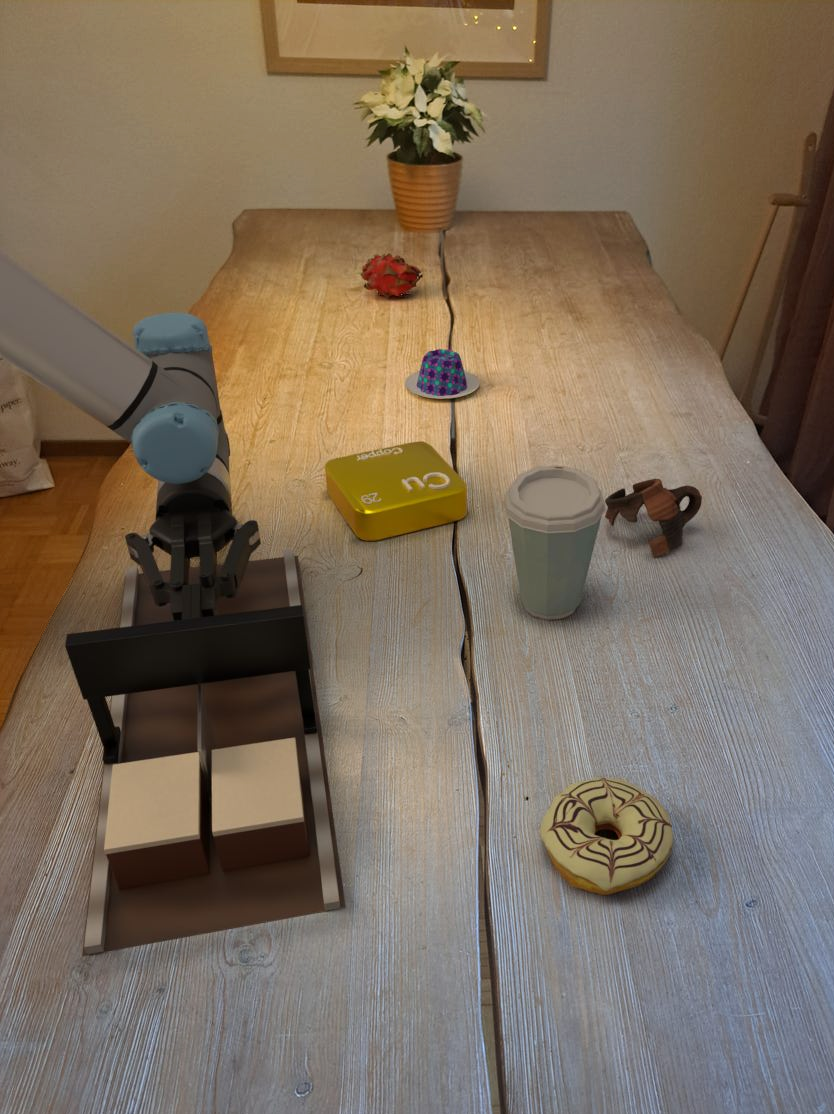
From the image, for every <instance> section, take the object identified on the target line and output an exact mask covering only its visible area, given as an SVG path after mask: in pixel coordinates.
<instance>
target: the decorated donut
mask: <svg viewBox="0 0 834 1114" xmlns="http://www.w3.org/2000/svg"><path fill="white" fill-rule="evenodd" d="M602 830H603V831H609V830H610V831H613V832H614V833H615V834H616V835H617V838H618V839H609V838H606V837H602V836H600V835H596V833H598V832H599V831H602ZM539 835H540V839H541V841H542V842H543V844H544V845H545V848H546V852H547V854H548V856H549V858H550V861H551V863H552V865H553V866H554V868H555V870H556V871H557V873H558V875H560V876H561V878H562V880H564V881H566V882H567V883H568V884H569V885H570V886H571V887H572V888H575V889H582V890H584V891H586V892H590V893H595V894H598V895H600V896H601V895H602V896H607V895H611V894H615V893H619V892H624V891H626V890H628V889H632V888H635V887H638V886H640V885H642V884H644V883H646V882H648V881H649V880H651V879H652V878H654V876H655V875H656V874H657V873H658V872H659V871H660V870H661V869H662V867H663V866H664V865H665V864H666V862H667V860H668V859H669V857H670V856H671V851H672V848H673V843H674V833H673V823H672V820H671V818H670V814H669V813H668V812H667V809H666V808H665V807H664V806H663V805H662V804H661V803H660V802H659V800H658V799H657V798H655V797H654V796H653V795H651V794H650V793H648V792H646V791H645V790H643V789H641V788H640V787H638V786H637V785H635V784H633V783H631V782H629V781H627V780H624V779H620V778H618V777H617V778H614V777H610V778H607V777H596V778H590V779H587V780H581V781H576V782H573V783H571V784H569V785H567V786H566V787H565V789H564V790H563V792H561V793H560V794H557V795H555V797H553V800H552V802H551V804H550V808H549V809H548V810H547V811H546V814H545V815H544V816H543V818H542V821H541V824H540V828H539Z"/></svg>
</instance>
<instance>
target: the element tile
mask: <svg viewBox="0 0 834 1114" xmlns="http://www.w3.org/2000/svg"><path fill="white" fill-rule="evenodd" d="M324 473H325V484H326V492H327V495H328V496H329V498H330V499H331V501H332V502H333V504H334V505H335V507H336V508H337V510H338V511H339V512H340V514H341V516H342V518H343V519H344V520H345V522H346V523H347V524H348V525H349V527H350V528H351V530H352V532H353V533H354V534H355V536H356V537H357V538H358V539H361V540H362V541H365V542H372V541H373V542H376V541H380V540H385V539H388V538H393V537H397V536H401V535H405V534H409V533H414V532H418V531H421V530H422V531H423V530H425V529H429V528H433V527H434V528H435V527H437V526H441V525H447V524H450V523H453V522H457V521H460V520H462V519H464V518H465V517H466V516H467V513H468V485H467V483H466V482H465V481H464V479H462V477H461V476H460V475H459V474H458V473H457V472H456V470H454V469H453V467H451V465H450V464H449V463H448V462H447V460H445V459H444V457H442V456H441V454H440V453H439V452H438V451H437V450H436V449H435V448H434V446H433V445H431V444H429V443H427V442H426V441H420V440H419V441H412V442H411V441H410V442H407V443H402V444H397V445H392V446H389V447H382V448H377V449H373V450H368V451H364V452H359V453H354V454H349V455H345V456H339V457H334V458H333V459H330V460H328V461H326V463H324Z"/></svg>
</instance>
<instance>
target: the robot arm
mask: <svg viewBox="0 0 834 1114" xmlns="http://www.w3.org/2000/svg"><path fill="white" fill-rule="evenodd" d="M132 336H133V337H132V338H133V343H134V346H133V345H132V344H130V343H129V342H128V341H126V340H125V339H124V338H122V337H121V336H119V335H118V334H116V333H115V332H114V331H112V330H111V329H110V328H108V327H107V326H106V325H104V323H102V322H100V321H99V320H98V319H96V318H95V317H93V315H91V314H89V313H88V312H86V311H85V310H83V308H82V307H79V306H78V305H76V303H74V302H73V301H71V300H70V299H69V298H67V297H66V296H65V295H63V294H61V293H60V292H59V291H57V290H56V289H55V288H53V287H52V286H51V285H49V284H48V283H47V282H45V281H44V280H43V279H41V278H40V277H38V276H37V275H35V274H34V273H33V272H31V271H30V270H29V269H27V268H26V267H25V266H23V265H22V264H20V263H19V262H18V261H16V260H15V259H13V258H12V257H11V256H9V255H8V254H7V253H5V252H4V251H2V250H1V249H0V358H1V359H3V360H4V361H6V362H7V363H9V364H10V365H12V366H13V367H15V368H16V369H18V370H19V371H21V372H22V373H24V374H26V375H27V376H28V377H30V378H31V379H32V380H33V379H34V381H36V382H38V383H39V384H41V385H43V387H45V388H47V389H48V390H50V391H52V392H53V393H54V394H56V395H58V396H59V397H60V398H63V399H64V400H65V401H66V402H69V403H70V404H71V405H73V406H74V407H76V408H77V409H79V410H80V411H82V412H83V413H85V414H86V415H87V416H89V417H91V418H92V419H94V420H96V422H98V423H100V424H102V425H103V426H105V427H107V428H108V429H110V430H111V431H112V432H114V433H115V434H116V435H117V436H119V437H121V438H122V439H123V440H126V442H128V443H130V445H131V447H132V451H133V455H134V457H135V459H136V461H137V463H138V465H139V467H141V469H142V470H143V471H144V472H145V473H146V474H147V475H148V476H150V477H151V478H153V479H155V480H157V489H156V503H155V504H156V506H155V521H154V522H153V523H152V524H151V525H150V526H149V529H148V530H149V532H148V533H145V534H143V535H140V534H138V533H136V532H129V533H127V534H126V535H125V536H124V538H125V539H124V540H125V543H126V546H127V549H128V554H129V557H130V560H132V561H133V562H134V563H136V564H137V565H138V566H140V569H141V571H142V573H143V574H144V576H145V579H146V582H147V584H148V587H149V590H150V592H151V595H152V597H153V600H154V603H155V605H156V606H164V605H166V604H167V603H170V612H171V616H172V620H173V621H176V620H184V619H192V618H200V617H208V616H216V615H217V601H218V599H219V598H220V597H223V596H225V597H226V598H233V597H235V596H236V595H237V593H238V590H239V588H240V585H241V582H242V579H243V576H244V573H245V570H246V567H247V565H248V562H249V561H250V559H251V556H252V554H253V553H254V551H256V550H257V549H258V548H259V547H260V546H261V544H262V542H261V535H260V529H259V523H258V521H257V520H255V519H250V520H247V521H246V522H245V523H243V524H242V523H238V520H237V518H236V516H234V515H233V503H232V486H231V485H232V484H231V475H230V456H231V447H230V446H231V445H230V440H229V435H228V433H227V430H226V427H225V423H224V417H223V411H222V408H221V403H220V396H219V389H218V381H217V375H216V369H215V364H214V356H213V346H212V345H211V342H210V337H209V333H208V328H207V325H206V323H205V322H204V321H203V320H202V319H201V318H200V317H198V316H196V315H194V314H190V313H186V312H163V313H157V314H153V315H149V316H145V318H142V319H141V320H139V321H138V322H137V323H136V324H135V325H134V327H133V329H132ZM230 543H231V544H230ZM228 544H230V546H229V549H228V551H227V554H226V557H225V559H224V562H223V563H222V564H223V567H222V570H221V572H220V576H219V577H217V566H216V565H218V553H219V552H220V551H222V550H223V549H224V548H225V547H226V546H228ZM154 547H157V548H158V549H159V550H161V551H163V552H164V553H166V554H167V555H169V556H170V569H169V570H170V583H166V582H163V578H162V576H161V574H160V571H161V570H160V569H159V566H158V564H157V561H156V559H155V556H154V552H155V548H154ZM194 558H199V567H200V574H199V579H200V583H198V584H190V585H189V568H191V559H194ZM200 584H201V585H200Z"/></svg>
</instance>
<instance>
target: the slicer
mask: <svg viewBox="0 0 834 1114" xmlns="http://www.w3.org/2000/svg"><path fill="white" fill-rule="evenodd" d="M64 648H65V651H66V653H67V656H68V659H69V662H70V665H71V667H72V670H73V674H74V677H75V679H76V682H77V685H78V687H79V690H80V693H81V697H82V699H83V700H84V701H85V700H86V701H87V704H88V708H89V710H90V713H91V715H92V718H93V722H94V724H95V728H96V730H97V733H98V736H99V739H100V742H101V745H102V747H103V749H102V758H101V759H102V762H103V765H104V764H108V763H115V762H118V755H119V745H120V735H121V730H120V727H119V726H117V727H115V726H114V723H113V719H112V716H111V713H110V706H109V705H108V701H107V699H106V698H108V697H111V696H115V695H123V694H130V693H137V692H145V691H152V690H159V689H167V688H174V687H181V686H189V685H196V684H200V685H198V744H197V750H198V754H199V758H200V762H201V766H202V769H203V773H204V777H205V781H206V785H207V789H208V793H209V797H210V801H211V804H212V750H214V749H216V743H215V739H214V735H213V731H212V727H211V722H210V718H209V714H208V710H207V706H206V701H205V697H204V693H203V689H202V685H201V684H203V683H211V682H218V681H225V680H233V679H240V678H247V677H255V676H262V675H269V674H276V673H284V672H291V671H295V673H296V680H297V686H298V693H299V700H300V706H301V713H302V720H303V728H304V734H311V733H317V725H316V717H315V709H314V702H313V695H312V688H311V681H310V674H309V669H311V665H310V657H309V650H308V643H307V635H306V628H305V621H304V613H303V606H302V605H297V606H289V607H281V608H273V609H264V610H256V611H248V612H240V613H232V614H224V615H216V616H208V617H200V618H192V619H184V620H176V621H168V622H160V623H152V624H144V625H136V626H128V627H120V628H119V627H113V628H105V629H95V630H89V631H79V632H73V633H72V632H71V633H66V636H65V643H64Z"/></svg>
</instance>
